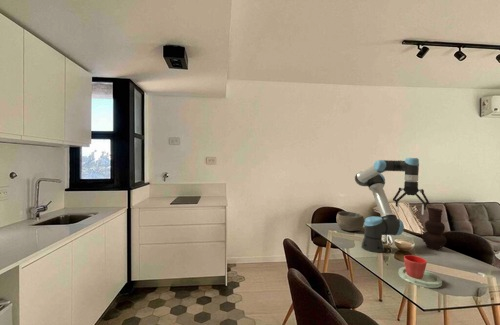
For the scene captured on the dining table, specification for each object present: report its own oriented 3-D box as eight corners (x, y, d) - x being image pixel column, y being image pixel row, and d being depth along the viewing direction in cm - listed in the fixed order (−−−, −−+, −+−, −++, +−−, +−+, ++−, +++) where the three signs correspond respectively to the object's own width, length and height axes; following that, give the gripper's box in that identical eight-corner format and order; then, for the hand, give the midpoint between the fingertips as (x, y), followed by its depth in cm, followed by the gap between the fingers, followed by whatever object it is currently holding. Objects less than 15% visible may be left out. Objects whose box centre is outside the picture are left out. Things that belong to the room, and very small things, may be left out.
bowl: (333, 225, 241) (334, 210, 240) (359, 226, 237) (359, 211, 237) (339, 232, 217) (339, 216, 216) (367, 234, 213) (368, 217, 213)
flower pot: (430, 281, 131) (431, 263, 131) (408, 279, 133) (408, 261, 133) (420, 272, 142) (421, 256, 141) (400, 270, 144) (400, 254, 144)
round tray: (398, 281, 133) (399, 277, 133) (398, 267, 150) (398, 263, 150) (445, 292, 123) (445, 288, 123) (438, 275, 140) (438, 272, 140)
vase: (438, 253, 174) (440, 212, 173) (416, 245, 188) (418, 207, 187) (451, 250, 180) (452, 210, 180) (429, 243, 194) (430, 206, 194)
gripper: (389, 180, 163) (388, 211, 163) (435, 183, 150) (434, 216, 150) (389, 179, 169) (388, 209, 170) (433, 182, 156) (432, 214, 157)
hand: (410, 213), depth 160 cm, fingers open, 13 cm apart
